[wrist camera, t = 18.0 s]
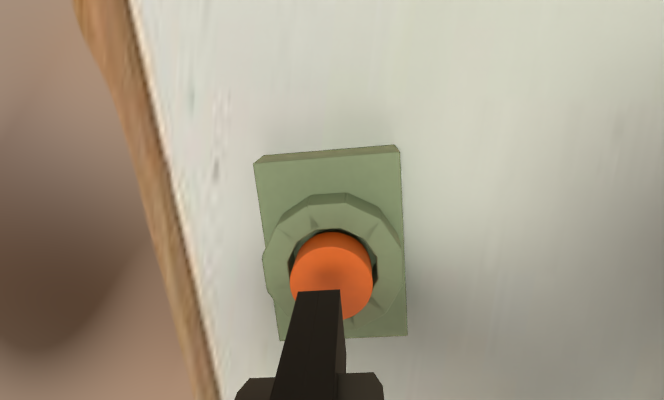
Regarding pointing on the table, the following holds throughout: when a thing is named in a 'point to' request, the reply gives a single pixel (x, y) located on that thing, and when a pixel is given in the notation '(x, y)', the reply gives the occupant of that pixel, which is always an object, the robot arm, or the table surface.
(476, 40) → the table surface
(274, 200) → the control block
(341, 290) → the button
